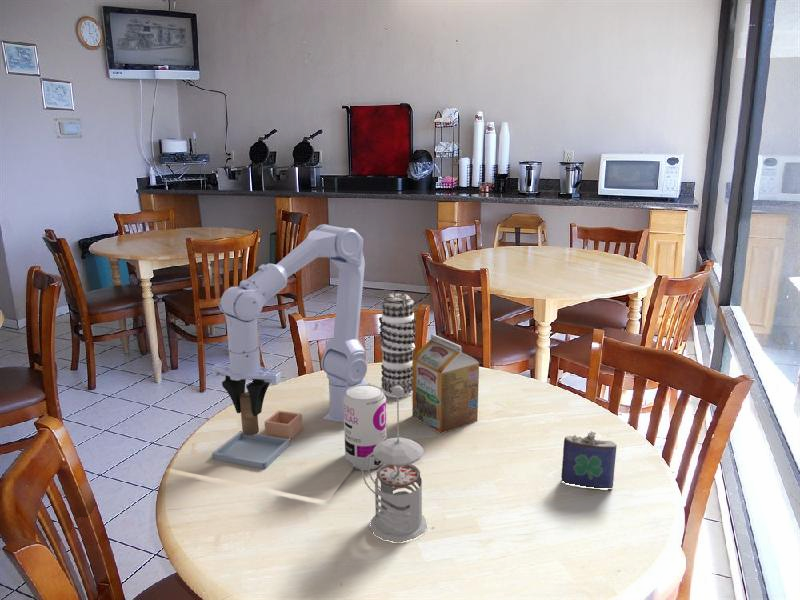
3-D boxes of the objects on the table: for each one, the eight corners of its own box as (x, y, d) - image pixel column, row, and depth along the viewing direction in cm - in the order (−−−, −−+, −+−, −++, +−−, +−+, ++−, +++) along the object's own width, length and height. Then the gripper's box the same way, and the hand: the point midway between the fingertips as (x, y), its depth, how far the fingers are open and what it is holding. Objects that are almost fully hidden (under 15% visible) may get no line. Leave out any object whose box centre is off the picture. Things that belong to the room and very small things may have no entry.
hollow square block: (302, 430, 134) (301, 413, 133) (289, 442, 129) (288, 425, 128) (279, 426, 136) (278, 410, 135) (265, 438, 131) (264, 421, 129)
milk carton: (477, 420, 138) (479, 341, 133) (440, 433, 132) (441, 351, 127) (448, 404, 146) (449, 329, 141) (412, 415, 141) (412, 338, 136)
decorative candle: (409, 400, 148) (409, 302, 142) (374, 395, 152) (372, 298, 145) (421, 386, 157) (422, 292, 150) (388, 381, 160) (387, 289, 153)
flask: (612, 484, 113) (617, 432, 110) (613, 493, 110) (618, 439, 107) (561, 477, 115) (564, 426, 112) (560, 485, 113) (564, 433, 110)
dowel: (261, 429, 124) (259, 393, 122) (253, 436, 121) (250, 399, 119) (248, 426, 125) (245, 391, 123) (239, 434, 122) (236, 397, 120)
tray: (290, 447, 127) (290, 439, 126) (265, 471, 118) (264, 463, 117) (240, 438, 131) (240, 430, 130) (212, 461, 122) (211, 453, 121)
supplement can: (393, 455, 123) (392, 387, 119) (374, 475, 116) (373, 403, 112) (358, 447, 127) (356, 380, 123) (338, 466, 120) (335, 396, 116)
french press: (408, 551, 95) (408, 404, 89) (349, 527, 101) (344, 388, 95) (438, 518, 103) (440, 381, 97) (381, 497, 109) (379, 367, 103)
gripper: (199, 351, 117) (206, 415, 120) (265, 359, 112) (270, 426, 116) (221, 339, 123) (226, 401, 127) (284, 347, 119) (288, 411, 122)
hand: (249, 412), depth 122 cm, fingers closed on dowel, 3 cm apart
